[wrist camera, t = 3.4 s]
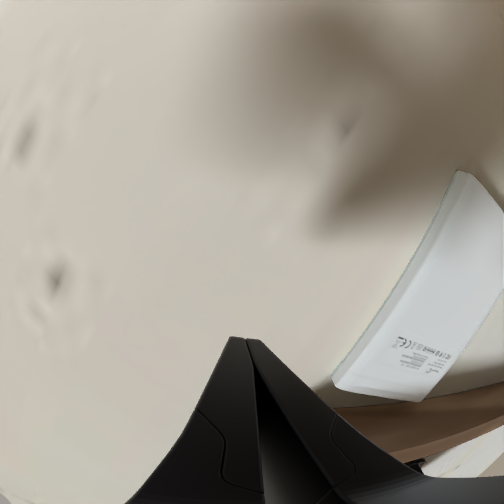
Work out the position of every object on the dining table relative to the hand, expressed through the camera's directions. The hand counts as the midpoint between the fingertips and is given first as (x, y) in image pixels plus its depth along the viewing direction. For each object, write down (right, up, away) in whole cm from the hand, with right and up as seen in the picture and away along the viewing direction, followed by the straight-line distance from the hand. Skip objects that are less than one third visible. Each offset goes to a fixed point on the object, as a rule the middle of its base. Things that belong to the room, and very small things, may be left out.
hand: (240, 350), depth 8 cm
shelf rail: (+16, -10, +11) cm, 22 cm away
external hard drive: (+11, 0, +7) cm, 13 cm away
